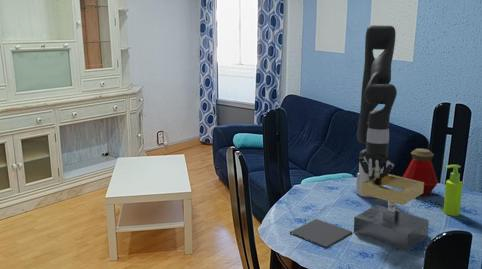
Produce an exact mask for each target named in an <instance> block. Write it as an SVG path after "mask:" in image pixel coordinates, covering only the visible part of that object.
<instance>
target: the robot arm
mask: <svg viewBox="0 0 482 269" xmlns="http://www.w3.org/2000/svg"><path fill="white" fill-rule="evenodd" d="M395 28H396V27H394V26H393V25H369V26H368V27H367V28H366V31H365V41H364V65H363V74H362V83H361V94H360V96H361V97H360V110H359V111H360V112H359V117H358V118H359V119H358V123H357V131H356V132H357V133H356V138H357V141H358V142H359V144H360V143H361V144H365V145H366V146H365V147H366V148H364V149H362V150H360V152H359V159H358V161H359V162H358V164H359V165H358V172H357V173H356V187H355V188H356V189H355V194H357V195H358V196H360V197H363V198H369V199H373V198H374V199H375V197H372V196H368V195H365V194H362V183H363V182H365V181H367V180H370V179H372V178H374V177H377V178H376V185H379V186H381V184H382V178H384V177H385V176H387V175H388V174H390V172H392V170H393V169H394V168H395V166H396V164H395V163H394V162H391V161H390V160H389V157H388V156H389V155H388V154H389V147H390V146H389V144H390V118H391V117H390V116H391V111H392V108H393V106H394V103H395V100H396V98H397V96H398V95H397V92H398V90H397V87H396V86H395V85H394V84H392V83H391V81H392V62H393V57H394V52H395V47H396V46H395V45H396V38H397V37H396V34H397V33H396V29H395ZM373 50H377V51H379V50H380V51H381V50H382V52H381V53H379V55H378V56H377V57H376V58H375V55H374V51H373ZM378 105H384V106H383V107H382V108H380V109H376V108H377V107H378ZM375 109H376V110H375ZM384 167H386V168H385V169H384Z"/></svg>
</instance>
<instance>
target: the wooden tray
mask: <svg viewBox="0 0 482 269" xmlns="http://www.w3.org/2000/svg"><path fill="white" fill-rule="evenodd" d="M376 178H377V177H374V178H372V179H370V180H367V181H365V182H363V183H362V194H365V195H368V196H372V197H375V198H376V199H379V200H384V201H386V202H388V201H390V202H393V203H396V205H401V206H404V205H406V204H408V203H410V202H411V201H412V200H414V199H416V198H417V197H420V196H419V195H421V194H423V190H424V182H420V181H416V180H412V179H408V178H403V176H399V175H395V174H390V173H389V174H388V175H387V176H385V177H384V178H382V184H381V186H379V185H376ZM386 186H388V187H386ZM390 187H391V188H390ZM393 188H395V189H393ZM401 190H402V191H401ZM375 198H374V199H375Z"/></svg>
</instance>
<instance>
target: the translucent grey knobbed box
mask: <svg viewBox="0 0 482 269" xmlns="http://www.w3.org/2000/svg"><path fill="white" fill-rule="evenodd" d="M387 206H388V207H385V206H382V205H378V204H375V205H374V206H372V207H370V208H369V209H367V210H365V211H363V212H361V213H359V214H357V215H356V216H353V217H354V218H353V219H354V220H353V233H355V234H357V235H360V236H363V237H366V238H369V239H372V240H375V241H377V242H380V243H382V244H386V245H388V246H391V247H394V248H396V249H400V250H403V251H405V252H407V251H409V250H410V249H411V248H413V247H414V246H416V245H417V244H418V243H420V242H421V241H422V240H424V239H425V238H427V236H429V234H428V232H429V224H430V223H429V222H430V219H427V218H424V217H419V216H417V215H414V214H410V213H406V212H403V211H401V210H400V209H397V203H393V202H390V201H387Z"/></svg>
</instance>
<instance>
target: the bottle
mask: <svg viewBox="0 0 482 269" xmlns="http://www.w3.org/2000/svg"><path fill="white" fill-rule="evenodd" d="M410 155H411V158H412V159H411V161H410V163H409V165H408V167H407V168H406V170H405V172H404V173H403V176H402V177H403V178H408V179H412V180H416V181H420V182H424V190H423V194H421V195H419V196H418V197H428V196H430V195H431V193H432V191H433V190H434V189H435V187H436V186H437V185H438V183H439V180H438V177H437V174H436V171H435V168H434V165H433V162H432V159H433V157H434V155H435V154H434V153H433V152H432V151H431V150H429V149H426V148H415V149H414V150H412V151H411V152H410Z"/></svg>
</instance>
